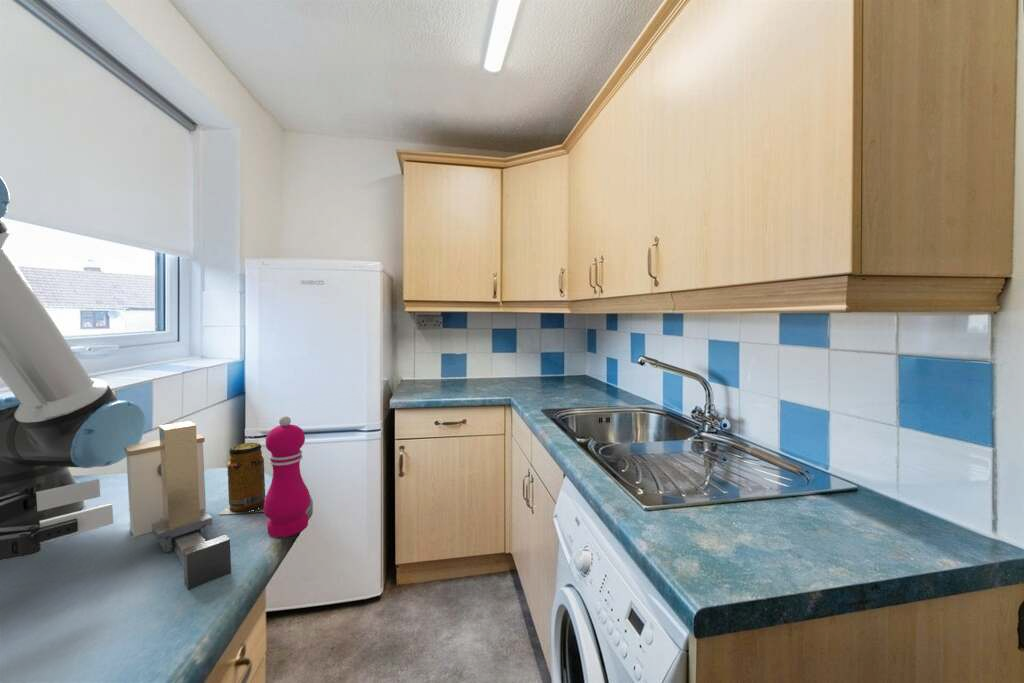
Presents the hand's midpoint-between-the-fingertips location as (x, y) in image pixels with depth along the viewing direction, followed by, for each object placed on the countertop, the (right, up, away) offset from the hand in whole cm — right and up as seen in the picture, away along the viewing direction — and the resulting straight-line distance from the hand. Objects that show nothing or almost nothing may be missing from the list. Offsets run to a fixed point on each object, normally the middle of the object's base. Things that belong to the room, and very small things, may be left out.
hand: (106, 499), depth 61 cm
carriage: (+6, -10, +7) cm, 13 cm away
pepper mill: (+21, -10, +11) cm, 26 cm away
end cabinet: (-2, -9, +14) cm, 17 cm away
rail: (+8, -10, +5) cm, 14 cm away
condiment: (+9, -9, +20) cm, 24 cm away
